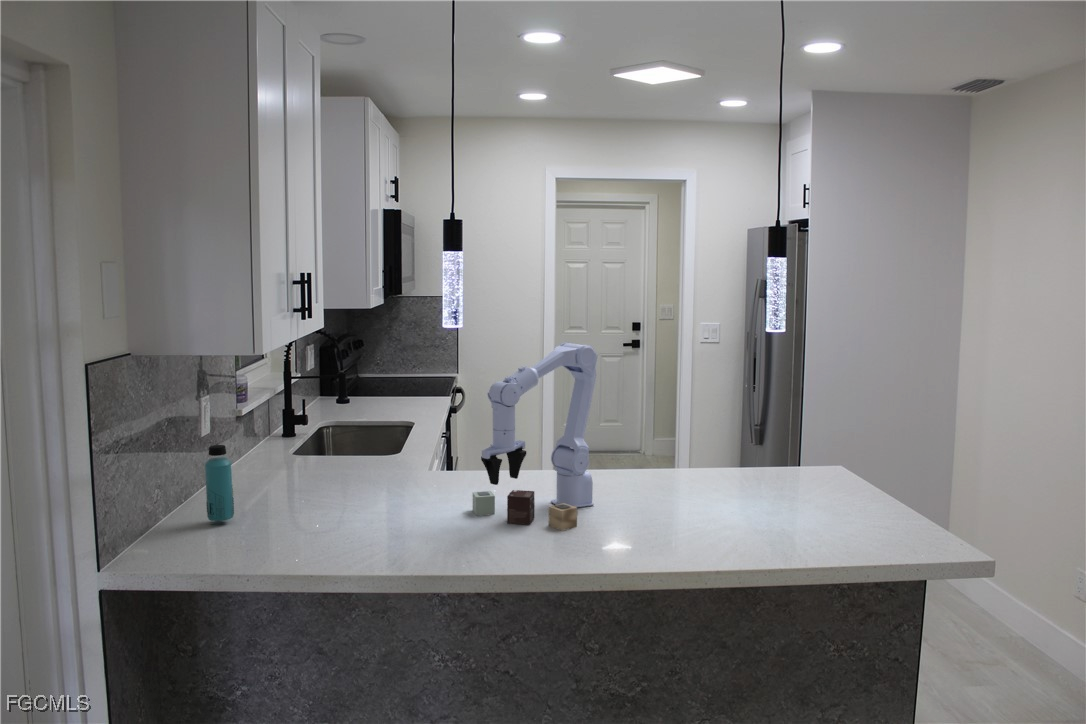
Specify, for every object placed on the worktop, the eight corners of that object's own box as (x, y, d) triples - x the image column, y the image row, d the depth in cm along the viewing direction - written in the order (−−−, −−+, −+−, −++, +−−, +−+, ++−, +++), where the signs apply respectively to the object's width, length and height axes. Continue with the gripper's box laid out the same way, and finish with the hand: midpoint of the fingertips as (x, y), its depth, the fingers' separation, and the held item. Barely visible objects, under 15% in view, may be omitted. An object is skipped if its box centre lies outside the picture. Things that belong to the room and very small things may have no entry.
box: (529, 525, 216) (530, 497, 215) (506, 523, 217) (506, 495, 216) (534, 518, 222) (535, 490, 221) (512, 516, 223) (512, 489, 222)
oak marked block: (563, 522, 219) (563, 502, 218) (576, 526, 215) (577, 506, 214) (548, 525, 216) (548, 505, 215) (561, 530, 212) (562, 510, 211)
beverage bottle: (240, 520, 218) (237, 443, 215) (222, 528, 212) (219, 449, 209) (219, 518, 220) (215, 441, 217) (201, 525, 214) (197, 447, 211)
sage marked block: (490, 509, 230) (490, 490, 229) (494, 514, 225) (494, 495, 224) (472, 510, 228) (472, 491, 228) (476, 515, 223) (475, 496, 223)
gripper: (510, 422, 225) (511, 472, 227) (472, 431, 214) (473, 484, 216) (531, 425, 221) (531, 477, 223) (493, 435, 210) (493, 489, 212)
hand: (504, 480), depth 219 cm, fingers open, 7 cm apart
